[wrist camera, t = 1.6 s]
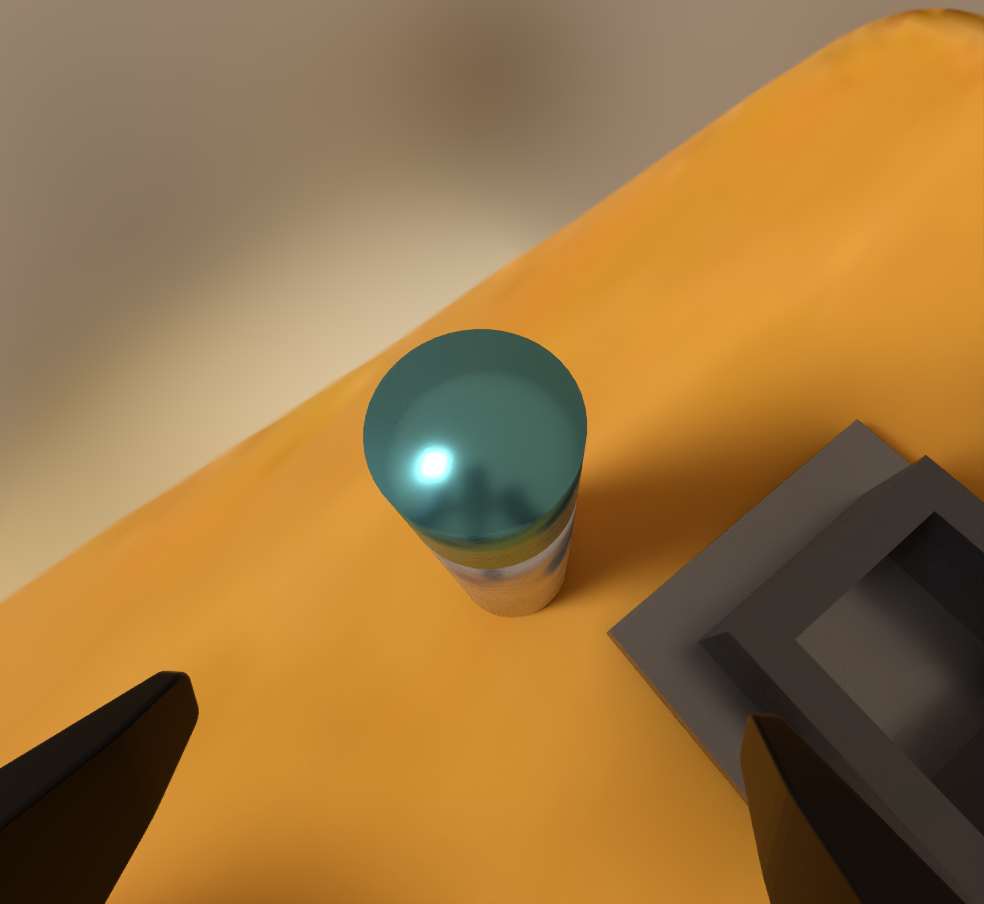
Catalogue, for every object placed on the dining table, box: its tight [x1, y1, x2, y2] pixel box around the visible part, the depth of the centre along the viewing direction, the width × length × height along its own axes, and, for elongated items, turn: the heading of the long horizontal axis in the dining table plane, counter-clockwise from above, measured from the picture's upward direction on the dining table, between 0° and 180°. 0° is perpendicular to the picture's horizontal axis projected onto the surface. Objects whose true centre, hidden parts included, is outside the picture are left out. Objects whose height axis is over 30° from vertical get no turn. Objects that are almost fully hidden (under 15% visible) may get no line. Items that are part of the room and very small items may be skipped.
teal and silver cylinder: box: [363, 329, 587, 617], centre depth 16 cm, size 4×4×12 cm
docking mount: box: [607, 419, 984, 904], centre depth 17 cm, size 12×12×4 cm
